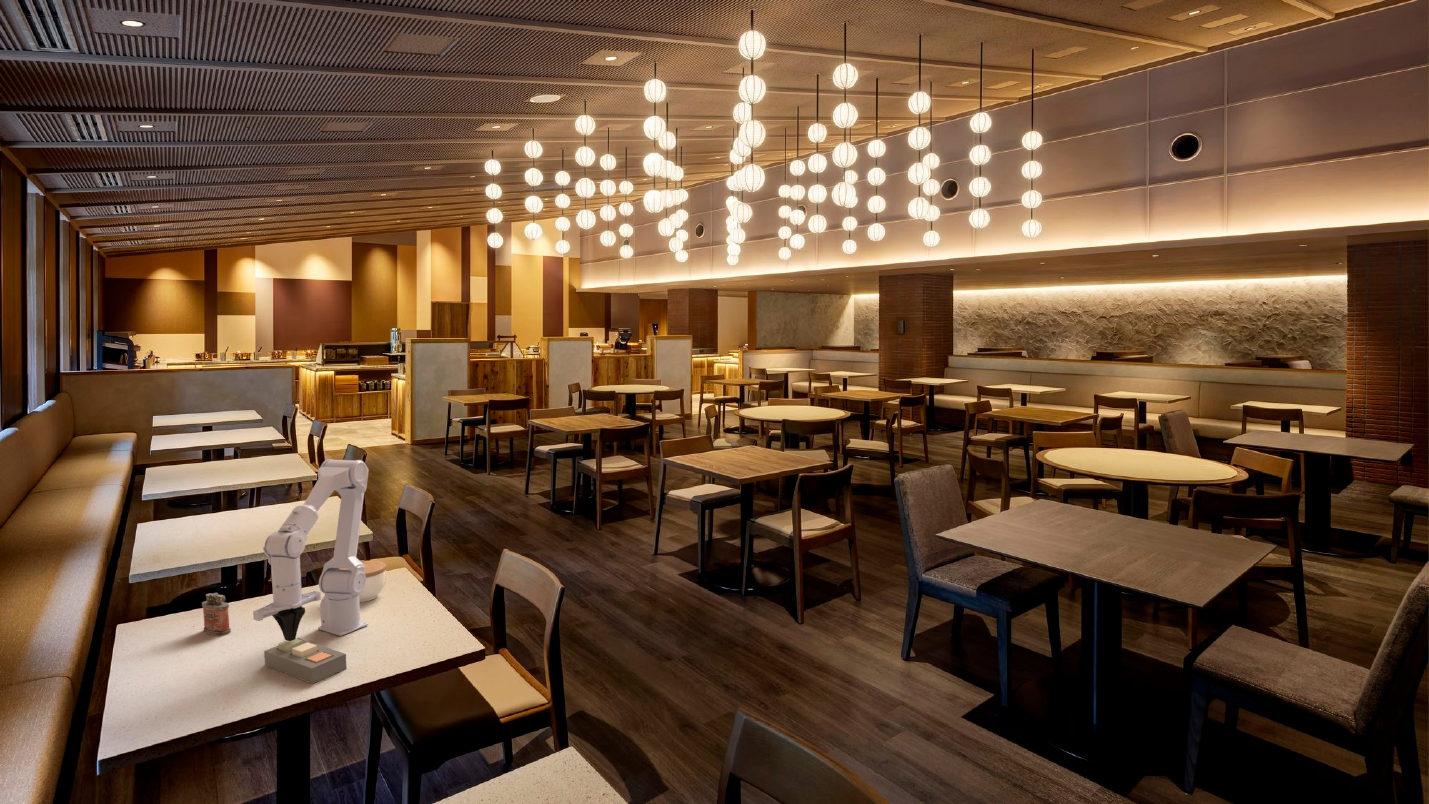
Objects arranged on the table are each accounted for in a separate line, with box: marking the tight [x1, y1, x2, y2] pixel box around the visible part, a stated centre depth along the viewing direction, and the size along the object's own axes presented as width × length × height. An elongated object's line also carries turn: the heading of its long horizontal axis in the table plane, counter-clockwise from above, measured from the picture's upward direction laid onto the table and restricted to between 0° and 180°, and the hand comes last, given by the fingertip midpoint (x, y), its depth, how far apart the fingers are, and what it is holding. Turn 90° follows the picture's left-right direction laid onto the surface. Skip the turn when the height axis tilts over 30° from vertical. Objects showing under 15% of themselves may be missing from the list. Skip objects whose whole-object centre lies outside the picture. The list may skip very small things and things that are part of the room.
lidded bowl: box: [338, 559, 387, 603], centre depth 205 cm, size 13×13×11 cm
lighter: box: [201, 592, 231, 637], centre depth 182 cm, size 8×3×10 cm, turn 68°
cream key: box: [292, 642, 317, 658], centre depth 163 cm, size 4×4×2 cm
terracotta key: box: [307, 652, 332, 664], centre depth 161 cm, size 4×4×2 cm
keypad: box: [263, 637, 347, 685], centre depth 163 cm, size 18×8×4 cm, turn 62°
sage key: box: [277, 638, 303, 653], centre depth 166 cm, size 4×4×2 cm
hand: (290, 639), depth 165 cm, fingers closed
